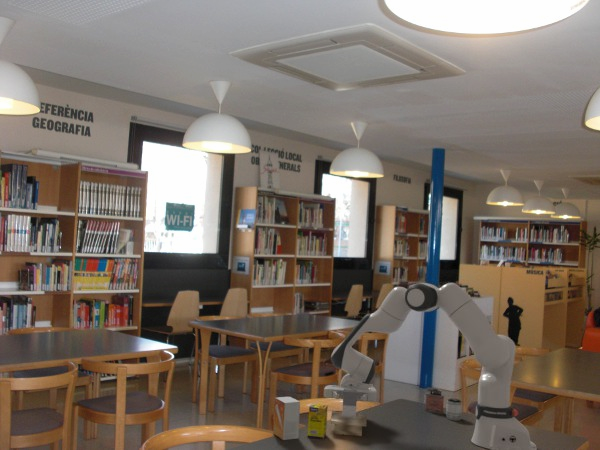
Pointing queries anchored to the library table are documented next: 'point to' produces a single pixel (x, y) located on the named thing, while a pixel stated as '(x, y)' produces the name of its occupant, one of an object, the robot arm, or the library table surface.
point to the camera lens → (454, 409)
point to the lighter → (434, 401)
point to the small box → (286, 418)
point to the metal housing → (349, 404)
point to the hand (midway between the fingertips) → (349, 397)
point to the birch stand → (348, 424)
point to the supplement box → (317, 421)
